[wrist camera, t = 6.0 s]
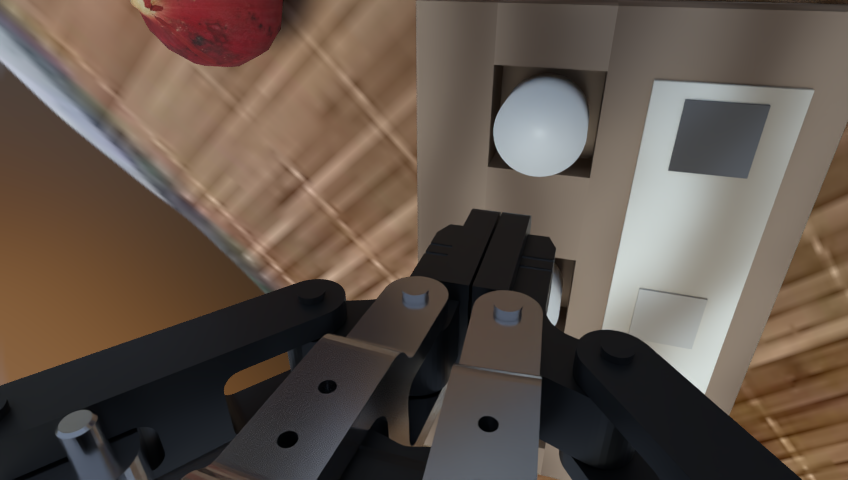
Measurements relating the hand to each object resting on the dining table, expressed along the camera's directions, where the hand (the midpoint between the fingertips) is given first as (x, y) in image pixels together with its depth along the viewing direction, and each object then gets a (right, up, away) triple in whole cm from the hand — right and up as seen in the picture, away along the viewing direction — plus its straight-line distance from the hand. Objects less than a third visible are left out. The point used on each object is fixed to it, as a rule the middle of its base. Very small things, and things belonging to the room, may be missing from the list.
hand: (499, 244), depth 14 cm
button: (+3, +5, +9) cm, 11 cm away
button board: (+6, -1, +14) cm, 16 cm away
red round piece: (-10, +12, +12) cm, 20 cm away
